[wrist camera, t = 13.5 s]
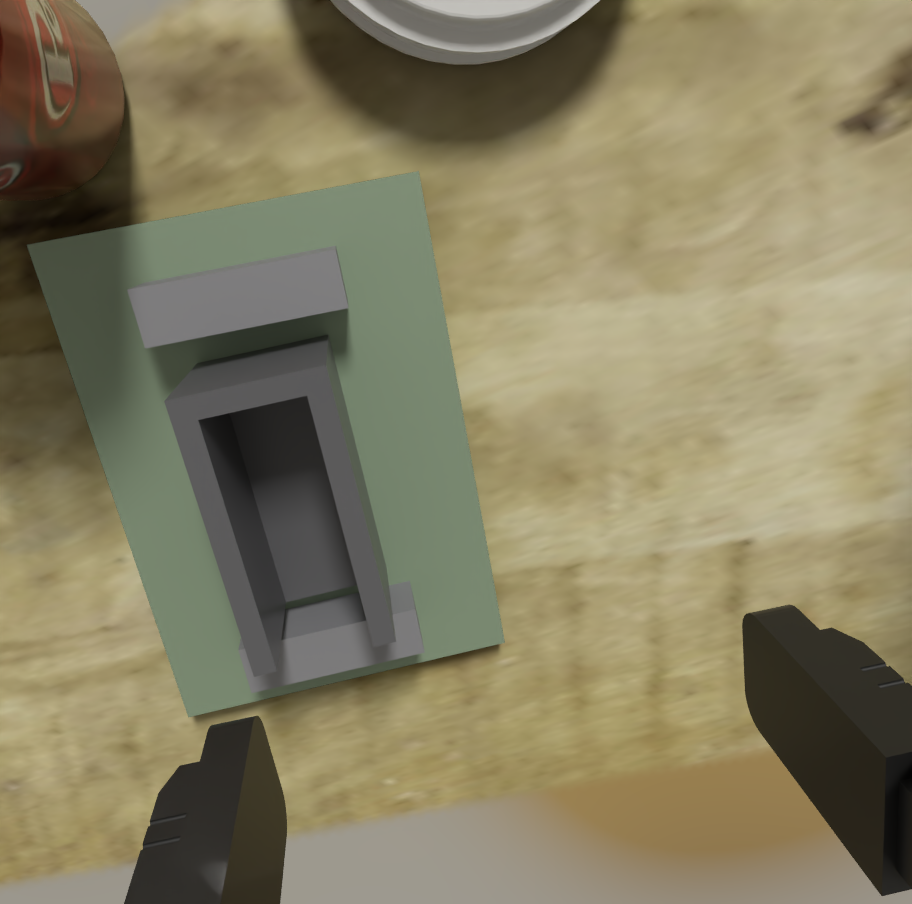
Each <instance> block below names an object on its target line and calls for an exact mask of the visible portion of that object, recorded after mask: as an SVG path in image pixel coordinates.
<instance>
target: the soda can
mask: <svg viewBox="0 0 912 904" xmlns="http://www.w3.org/2000/svg"><path fill="white" fill-rule="evenodd" d="M124 102H125V98H124V91H123V83H122V76H121V73H120V70H119V67H118V64H117V61H116V57H115V54H114V52H113V51H112V49H111V47H110V45H109V43H108V41H107V39H106V37H105V35H104V33H103V32H102V30H101V29H100V28H99V26H98V25H97V24H96V22H95V21H94V20H93V18H92V17H91V16H90V14H89V13H88V12H87V11H86V10H85V9H84V8H83V7H82V6H81V5H80V4H79V3H78V2H76V0H0V201H21V200H44V199H48V198H53V197H57V196H61V195H63V194H66V193H68V192H70V191H72V190H74V189H76V188H79V187H80V186H82V185H83V184H84V183H86V182H87V181H88V180H90V179H91V178H92V177H93V176H95V175H96V174H97V173H98V171H99V170H100V169H101V168H102V167H103V166H104V164H105V163H106V162H107V161H108V160H109V158H110V156H111V154H112V152H113V150H114V148H115V146H116V144H117V142H118V139H119V135H120V132H121V128H122V124H123V118H124Z"/></svg>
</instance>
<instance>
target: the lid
mask: <svg viewBox="0 0 912 904" xmlns="http://www.w3.org/2000/svg"><path fill="white" fill-rule="evenodd" d="M330 1H331V2H332V3H333V4H334V5H335V6H336V8H337V9H338V10H339V11H340V12H341V13H343V14H344V15H345V16H346V17H347V18H348V19H350V20H351V21H352V22H353V23H354V24H355V25H356V26H358V27H359V28H360V29H361V30H363V31H365V32H366V33H368V34H369V35H371V36H372V37H374V38H375V39H377V40H378V41H380V42H381V43H383V44H385V45H387V46H390V47H392V48H394V49H396V50H398V51H400V52H402V53H404V54H407V55H411V56H414V57H417V58H421V59H424V60H427V61H432V62H439V63H446V64H453V65H463V64H483V63H489V62H495V61H500V60H504V59H507V58H510V57H513V56H516V55H519V54H522V53H525V52H527V51H529V50H531V49H533V48H535V47H537V46H539V45H541V44H543V43H545V42H546V41H548V40H549V39H551V38H552V37H554V36H555V35H556V34H558V33H559V32H560V31H562V30H563V29H565V28H566V27H567V26H569V25H570V24H571V23H573V22H574V21H576V20H577V19H578V18H580V17H581V16H582V15H584V14H585V13H586V12H587V11H588V10H590V9H591V8H592V7H593V6H594V5H595V4H596V3H598V2H599V1H600V0H330Z"/></svg>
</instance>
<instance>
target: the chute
mask: <svg viewBox="0 0 912 904" xmlns="http://www.w3.org/2000/svg"><path fill="white" fill-rule="evenodd" d="M164 402H165V406H166V409H167V412H168V415H169V418H170V421H171V424H172V427H173V430H174V433H175V436H176V439H177V442H178V445H179V448H180V452H181V455H182V458H183V461H184V464H185V467H186V470H187V473H188V476H189V479H190V482H191V485H192V488H193V491H194V494H195V498H196V501H197V504H198V507H199V510H200V513H201V516H202V519H203V522H204V525H205V528H206V531H207V534H208V537H209V540H210V544H211V547H212V550H213V553H214V556H215V559H216V562H217V565H218V568H219V571H220V574H221V577H222V580H223V583H224V586H225V590H226V593H227V596H228V599H229V602H230V605H231V608H232V611H233V614H234V617H235V620H236V623H237V626H238V629H239V632H240V636H241V639H242V642H243V645H244V648H245V651H246V654H247V657H248V660H249V663H250V666H251V669H252V672H253V675H254V677H256V676H260V675H264V674H268V673H272V672H276V671H277V668H278V660H279V652H280V645H281V637H282V630H283V622H284V614H285V607H286V602H289V601H294V600H298V599H302V598H306V597H310V596H314V595H318V594H322V593H327V592H331V591H335V590H339V589H343V588H347V587H351V586H355V585H357V586H358V590H359V594H360V598H361V601H362V605H363V609H364V613H365V616H366V620H367V624H368V628H369V632H370V635H371V639H372V643H373V647H377V646H381V645H385V644H389V643H393V642H396V637H395V629H394V621H393V614H392V606H391V598H390V591H389V583H388V575H387V568H386V563H385V559H384V555H383V551H382V547H381V543H380V539H379V535H378V531H377V527H376V523H375V519H374V515H373V511H372V507H371V503H370V499H369V495H368V491H367V487H366V483H365V479H364V475H363V471H362V467H361V463H360V459H359V455H358V451H357V447H356V443H355V439H354V435H353V431H352V427H351V423H350V419H349V415H348V411H347V407H346V403H345V399H344V395H343V391H342V387H341V383H340V379H339V375H338V371H337V367H336V363H335V359H334V355H333V351H332V347H331V343H330V339H329V335H324V336H319V337H314V338H310V339H305V340H301V341H296V342H292V343H287V344H282V345H278V346H273V347H269V348H264V349H260V350H255V351H251V352H246V353H241V354H237V355H232V356H228V357H223V358H219V359H214V360H209V361H205V362H200V363H197V364H196V365H195V366H194V367H193V369H192V370H191V371H190V372H189V373H188V374H187V375H186V377H185V378H184V379H183V380H182V381H181V382H180V383H179V385H178V386H177V387H176V388H175V389H174V390H173V392H172V393H171V394H170V395H169V396H168V397H167V398H166V400H165V401H164Z"/></svg>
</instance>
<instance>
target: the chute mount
mask: <svg viewBox="0 0 912 904" xmlns="http://www.w3.org/2000/svg"><path fill="white" fill-rule="evenodd" d="M27 247H28V250H29V253H30V256H31V259H32V262H33V265H34V268H35V271H36V274H37V277H38V279H39V282H40V285H41V288H42V291H43V294H44V297H45V300H46V303H47V306H48V309H49V312H50V314H51V317H52V320H53V323H54V326H55V329H56V332H57V335H58V338H59V341H60V344H61V347H62V349H63V352H64V355H65V358H66V361H67V364H68V367H69V370H70V373H71V376H72V379H73V382H74V385H75V387H76V390H77V393H78V396H79V399H80V402H81V405H82V408H83V411H84V414H85V417H86V420H87V422H88V425H89V428H90V431H91V434H92V437H93V440H94V443H95V446H96V449H97V452H98V455H99V457H100V460H101V463H102V466H103V469H104V472H105V475H106V478H107V481H108V484H109V487H110V490H111V492H112V495H113V498H114V501H115V504H116V507H117V510H118V513H119V516H120V519H121V522H122V525H123V528H124V530H125V533H126V536H127V539H128V542H129V545H130V548H131V551H132V554H133V557H134V560H135V563H136V565H137V568H138V571H139V574H140V577H141V580H142V583H143V586H144V589H145V592H146V595H147V598H148V600H149V603H150V606H151V609H152V612H153V615H154V618H155V621H156V624H157V627H158V630H159V633H160V635H161V638H162V641H163V644H164V647H165V650H166V653H167V656H168V659H169V662H170V665H171V668H172V670H173V673H174V676H175V679H176V682H177V685H178V688H179V691H180V694H181V697H182V700H183V703H184V706H185V708H186V711H187V714H188V717H192V716H196V715H200V714H204V713H209V712H213V711H217V710H221V709H226V708H230V707H234V706H238V705H243V704H247V703H251V702H255V701H260V700H264V699H268V698H272V697H276V696H281V695H285V694H289V693H293V692H298V691H302V690H306V689H310V688H315V687H319V686H323V685H327V684H332V683H336V682H340V681H344V680H349V679H353V678H357V677H361V676H365V675H370V674H374V673H378V672H382V671H387V670H391V669H395V668H399V667H404V666H408V665H412V664H416V663H421V662H425V661H429V660H433V659H438V658H442V657H446V656H450V655H455V654H459V653H463V652H467V651H471V650H476V649H480V648H484V647H488V646H493V645H497V644H501V643H505V641H504V635H503V630H502V625H501V619H500V614H499V608H498V603H497V597H496V592H495V586H494V581H493V575H492V570H491V564H490V559H489V553H488V548H487V542H486V537H485V532H484V526H483V521H482V515H481V510H480V504H479V499H478V493H477V488H476V482H475V477H474V471H473V466H472V460H471V455H470V450H469V444H468V439H467V433H466V428H465V422H464V417H463V411H462V406H461V400H460V395H459V389H458V384H457V378H456V373H455V368H454V362H453V357H452V351H451V346H450V340H449V335H448V329H447V324H446V318H445V313H444V307H443V302H442V296H441V291H440V286H439V280H438V275H437V269H436V264H435V258H434V253H433V247H432V242H431V236H430V231H429V225H428V220H427V214H426V209H425V203H424V198H423V193H422V187H421V182H420V176H419V171H418V172H412V173H407V174H402V175H396V176H391V177H386V178H380V179H375V180H370V181H364V182H359V183H354V184H348V185H343V186H338V187H332V188H327V189H322V190H316V191H311V192H306V193H300V194H295V195H290V196H284V197H279V198H274V199H268V200H263V201H258V202H252V203H247V204H242V205H236V206H231V207H226V208H220V209H215V210H210V211H204V212H199V213H194V214H188V215H183V216H178V217H172V218H167V219H162V220H156V221H151V222H146V223H140V224H135V225H130V226H124V227H119V228H114V229H108V230H103V231H98V232H92V233H87V234H82V235H76V236H71V237H66V238H60V239H55V240H50V241H44V242H39V243H34V244H28V245H27ZM324 335H329V339H330V343H331V347H332V351H333V355H334V359H335V363H336V367H337V371H338V375H339V379H340V383H341V387H342V391H343V395H344V399H345V403H346V407H347V411H348V415H349V419H350V423H351V427H352V431H353V435H354V439H355V443H356V447H357V451H358V455H359V459H360V463H361V467H362V471H363V475H364V479H365V483H366V487H367V491H368V495H369V499H370V503H371V507H372V511H373V515H374V519H375V523H376V527H377V531H378V535H379V539H380V543H381V547H382V551H383V555H384V559H385V563H386V568H387V575H388V583H389V591H390V598H391V606H392V614H393V621H394V629H395V637H396V642H393V643H389V644H385V645H381V646H377V647H373V643H372V639H371V635H370V632H369V628H368V624H367V620H366V616H365V613H364V609H363V605H362V601H361V598H360V594H359V590H358V586H357V585H355V586H351V587H347V588H343V589H339V590H335V591H331V592H327V593H322V594H318V595H314V596H310V597H306V598H302V599H298V600H294V601H289V602H286V607H285V614H284V622H283V630H282V637H281V645H280V652H279V660H278V668H277V671H276V672H272V673H268V674H264V675H260V676H256V677H254V675H253V672H252V669H251V666H250V663H249V660H248V657H247V654H246V651H245V648H244V645H243V642H242V639H241V636H240V632H239V629H238V626H237V623H236V620H235V617H234V614H233V611H232V608H231V605H230V602H229V599H228V596H227V593H226V590H225V586H224V583H223V580H222V577H221V574H220V571H219V568H218V565H217V562H216V559H215V556H214V553H213V550H212V547H211V544H210V540H209V537H208V534H207V531H206V528H205V525H204V522H203V519H202V516H201V513H200V510H199V507H198V504H197V501H196V498H195V494H194V491H193V488H192V485H191V482H190V479H189V476H188V473H187V470H186V467H185V464H184V461H183V458H182V455H181V452H180V448H179V445H178V442H177V439H176V436H175V433H174V430H173V427H172V424H171V421H170V418H169V415H168V412H167V409H166V406H165V402H164V401H165V400H166V398H167V397H168V396H169V395H170V394H171V393H172V392H173V390H174V389H175V388H176V387H177V386H178V385H179V383H180V382H181V381H182V380H183V379H184V378H185V377H186V375H187V374H188V373H189V372H190V371H191V370H192V369H193V367H194V366H195V365H196V364H197V363H200V362H205V361H209V360H214V359H219V358H223V357H228V356H232V355H237V354H241V353H246V352H251V351H255V350H260V349H264V348H269V347H273V346H278V345H282V344H287V343H292V342H296V341H301V340H305V339H310V338H314V337H319V336H324Z"/></svg>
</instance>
